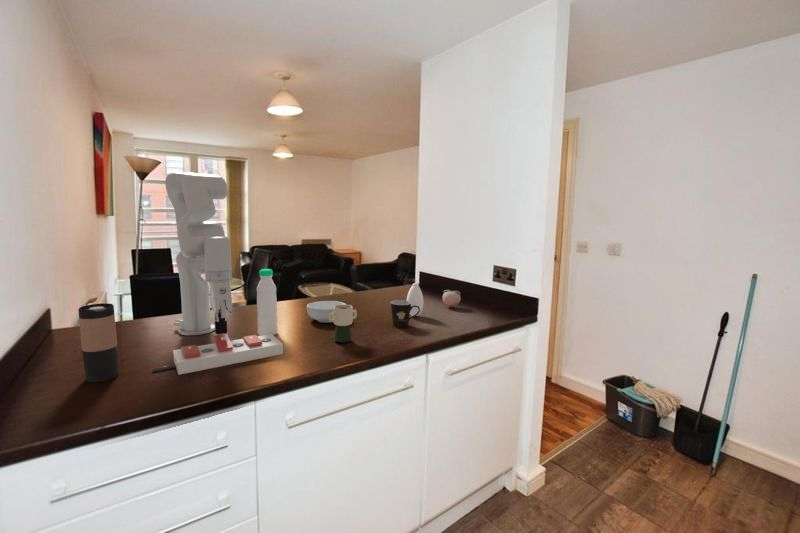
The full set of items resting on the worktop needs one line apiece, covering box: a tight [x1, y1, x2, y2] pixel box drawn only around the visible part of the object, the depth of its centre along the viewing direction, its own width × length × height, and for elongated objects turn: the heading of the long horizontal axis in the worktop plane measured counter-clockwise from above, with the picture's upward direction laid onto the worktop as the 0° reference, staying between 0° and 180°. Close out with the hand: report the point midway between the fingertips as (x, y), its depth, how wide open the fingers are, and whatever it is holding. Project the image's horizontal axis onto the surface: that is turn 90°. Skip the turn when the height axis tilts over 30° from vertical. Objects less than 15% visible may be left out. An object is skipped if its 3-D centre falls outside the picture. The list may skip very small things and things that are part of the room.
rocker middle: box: [213, 333, 233, 352], centre depth 118 cm, size 4×8×1 cm, turn 36°
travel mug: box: [78, 302, 120, 383], centre depth 103 cm, size 8×8×20 cm
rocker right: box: [242, 334, 262, 347], centre depth 124 cm, size 4×8×1 cm, turn 36°
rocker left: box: [180, 344, 200, 358], centre depth 114 cm, size 4×8×1 cm, turn 36°
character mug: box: [329, 304, 358, 343], centre depth 137 cm, size 11×7×13 cm, turn 122°
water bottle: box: [256, 268, 278, 336], centre depth 142 cm, size 7×7×25 cm
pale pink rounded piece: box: [442, 289, 462, 309], centre depth 191 cm, size 9×8×10 cm
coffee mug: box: [390, 299, 420, 329], centre depth 158 cm, size 12×9×10 cm
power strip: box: [151, 334, 284, 376], centre depth 119 cm, size 36×12×4 cm, turn 126°
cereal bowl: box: [306, 300, 347, 324], centre depth 164 cm, size 17×17×7 cm
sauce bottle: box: [406, 278, 424, 317], centre depth 173 cm, size 8×8×18 cm
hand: (221, 333), depth 120 cm, fingers closed
